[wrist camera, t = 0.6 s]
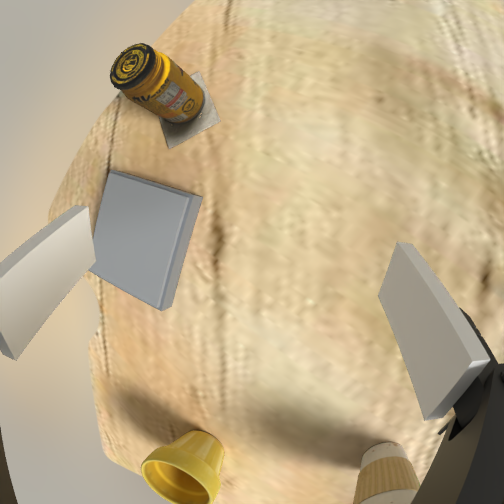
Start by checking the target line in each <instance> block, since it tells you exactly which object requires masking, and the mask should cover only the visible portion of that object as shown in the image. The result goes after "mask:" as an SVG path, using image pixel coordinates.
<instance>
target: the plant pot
mask: <svg viewBox="0 0 504 504" xmlns="http://www.w3.org/2000/svg"><path fill="white" fill-rule="evenodd" d="M223 458H224V449H223V446H222V445H221V443H220V442H219V441H218V440H217V439H216V438H215V437H213V436H212V435H210V434H208V433H206V432H203V431H195V430H194V431H190V432H188V433H186V434H185V435H183V436H182V437H180V438H179V439H177V440H176V441H174V442H173V443H171V444H170V445H168V446H162V447H159V448H157V449H156V450H154V451H153V452H152V453H151V454H150V455H149V456H148V457H147V458H146V459H145V460H144V461H143V463H142V465H141V473H142V476H143V478H144V479H145V481H146V483H147V484H148V485H149V486H150V487H151V488H152V489H153V490H154V491H155V492H156V493H157V494H158V495H160V496H161V497H163V498H164V499H165V500H167V501H169V502H171V503H173V504H212V503H213V501H214V499H215V498H216V496H217V494H218V492H219V489H220V486H221V483H220V479H219V475H220V470H221V466H222V462H223Z"/></svg>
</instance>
